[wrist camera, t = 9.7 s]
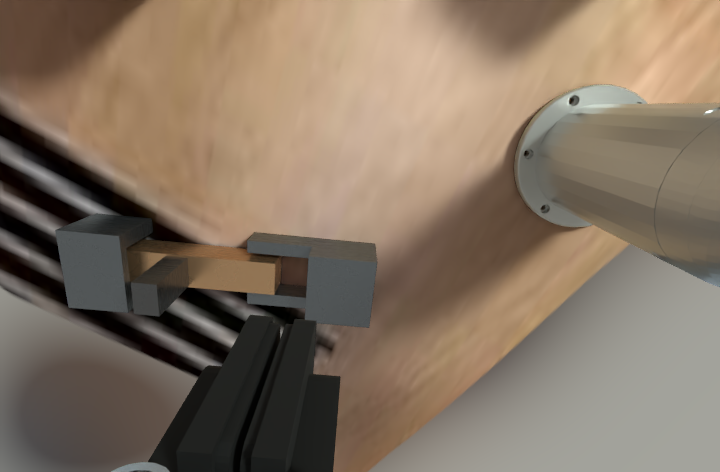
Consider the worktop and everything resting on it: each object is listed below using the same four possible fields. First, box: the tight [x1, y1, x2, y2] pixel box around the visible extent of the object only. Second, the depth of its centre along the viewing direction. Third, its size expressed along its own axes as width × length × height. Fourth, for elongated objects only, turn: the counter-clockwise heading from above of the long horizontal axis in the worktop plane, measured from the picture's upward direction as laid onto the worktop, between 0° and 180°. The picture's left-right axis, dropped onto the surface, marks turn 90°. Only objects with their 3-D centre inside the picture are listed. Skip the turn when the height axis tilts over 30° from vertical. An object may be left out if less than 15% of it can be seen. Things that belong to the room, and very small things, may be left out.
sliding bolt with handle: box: [126, 239, 282, 316], centre depth 34 cm, size 16×3×8 cm, turn 84°
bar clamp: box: [55, 214, 377, 328], centre depth 36 cm, size 27×7×5 cm, turn 84°
